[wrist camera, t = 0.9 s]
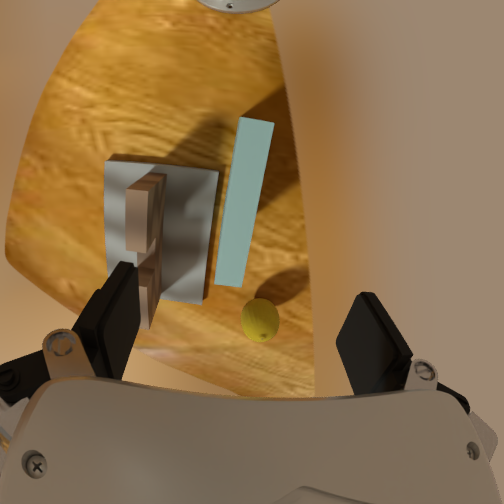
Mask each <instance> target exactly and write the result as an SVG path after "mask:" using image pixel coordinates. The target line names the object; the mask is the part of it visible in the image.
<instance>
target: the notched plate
mask: <svg viewBox="0 0 504 504" xmlns="http://www.w3.org/2000/svg"><path fill="white" fill-rule="evenodd" d="M273 128H274V123H272V122H267V121H262V120H256V119H250V118H244V117H239V122H238V128H237V133H236V139H235V144H234V150H233V156H232V163H231V169H230V175H229V181H228V187H227V191H226V198H225V204H224V210H223V217H222V224H221V231H220V239H219V248H218V256H217V265H216V274H215V283H214V284H219V285H226V286H234V287H242V282H243V277H244V272H245V267H246V262H247V257H248V252H249V247H250V242H251V237H252V232H253V227H254V222H255V217H256V212H257V207H258V202H259V197H260V192H261V187H262V182H263V177H264V172H265V167H266V162H267V158H268V153H269V148H270V143H271V138H272V133H273Z"/></svg>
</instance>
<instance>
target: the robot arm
mask: <svg viewBox="0 0 504 504" xmlns="http://www.w3.org/2000/svg"><path fill="white" fill-rule="evenodd" d="M197 1H198V2H200V3H201V4H203V5H204V6H206V7H208V8H210V9H212V10H216V11H219V12H224V13H231V14H243V13H252V12H256V11H260V10H263V9H265V8H268V7H270V6H272V5H273V4H275V3H277V2H278V1H279V0H197ZM229 7H232V8H231V9H229ZM140 323H141V312H140V297H139V275H138V267H134V263H131V262H125V261H120V262H119V263H118V264H117V266H116V267H115V269H114V270H113V272H112V273H111V275H110V276H109V278H108V279H107V281H106V282H105V284H104V285H103V287H102V288H101V289H97V290H96V291H95V292H94V294H93V295H92V297H91V298H90V300H89V301H88V303H87V305H86V306H85V308H84V309H83V311H82V313H81V314H80V316H79V318H78V319H77V321H76V323H75V324H74V326H73V328H72V329H71V330H69V329H57V330H54V331H52V332H50V333H49V334H48V335H47V336H46V337H45V338H44V340H43V343H42V348H43V349H42V350H40V351H37V352H34V353H31V354H29V355H26V356H23V357H20V358H17V359H15V360H12V361H9V362H6V363H4V364H2V365H0V504H502V501H501V498H500V494H499V490H498V487H497V484H496V481H495V478H494V474H493V471H492V469H491V466H490V463H489V462H490V460H491V458H492V456H493V453H494V451H495V449H496V446H497V443H498V438H497V435H496V433H495V432H494V431H493V430H492V429H491V428H490V427H489V426H488V425H487V424H486V423H485V422H484V421H483V420H482V419H480V418H479V417H478V416H477V415H476V414H475V413H474V412H473V411H472V412H471V413H469V412H470V406H469V403H468V401H467V399H466V398H465V397H464V396H462V395H460V394H458V393H457V392H455V391H453V390H451V389H450V388H448V387H446V386H444V385H443V384H441V383H439V382H437V380H438V373H437V370H436V369H435V367H434V366H433V365H432V364H431V363H429V362H428V361H426V360H423V359H415V360H414V361H411V357H412V356H413V353H412V351H411V350H410V348H409V346H408V345H407V343H406V341H405V340H404V338H403V337H402V335H401V333H400V332H399V330H398V329H397V327H396V325H395V324H394V322H393V321H392V319H391V318H390V316H389V315H388V313H387V311H386V310H385V308H384V307H383V305H382V304H381V302H380V301H379V299H378V298H377V296H376V295H375V294H374V293H372V292H361V293H360V294H359V295H357V296H356V298H355V300H354V302H353V305H352V307H351V309H350V311H349V313H348V315H347V318H346V320H345V322H344V324H343V326H342V328H341V330H340V332H339V335H338V336H337V339H336V346H337V349H338V352H339V354H340V357H341V359H342V362H343V365H344V367H345V370H346V373H347V376H348V378H349V381H350V384H351V387H352V389H353V392H354V395H350V396H335V397H311V398H269V397H246V396H230V395H218V394H207V393H199V392H190V391H182V390H176V389H168V388H162V387H155V386H149V385H144V384H139V383H133V382H128V381H122V380H121V379H122V376H123V373H124V370H125V367H126V364H127V361H128V358H129V355H130V352H131V349H132V347H133V344H134V341H135V338H136V335H137V333H138V330H139V327H140Z"/></svg>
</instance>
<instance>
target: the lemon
mask: <svg viewBox="0 0 504 504" xmlns="http://www.w3.org/2000/svg"><path fill="white" fill-rule="evenodd" d="M241 325H242V328H243V331H244V333H245V334H246V335H247V337H248V338H250V339H251V340H253V341H256V342H265V341H268V340H270V339H272V338H273V337H274V336H275V334H276V333H277V331H278V328H279V314H278V311H277V309H276V307H275V306H274V304H273V303H272V302H270V301H269V300H266V299H263V298H256V299H253V300H251V301H249V302H248V303H247V304H246V305H245V306H244V308H243V310H242V313H241Z"/></svg>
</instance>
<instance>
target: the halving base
mask: <svg viewBox="0 0 504 504" xmlns="http://www.w3.org/2000/svg"><path fill="white" fill-rule="evenodd" d="M218 176H219V171H218V170H210V169H203V168H195V167H186V166H177V165H168V164H158V163H147V162H134V161H120V160H106V161H105V171H104V224H105V244H106V258H107V269H108V278H109V276H110V275H111V273H112V272H113V270H114V269H115V267H116V266H117V264H118V263H119V262H120V261H125V262H131V263H134V267H138V275H139V297H140V312H141V323H140V327H139V328H141V329H147V330H149V329H150V326H151V323H152V320H153V317H154V314H155V311H156V308H157V305H158V302H159V299H165V300H171V301H178V302H185V303H192V304H199V305H202V300H203V291H204V281H205V272H206V264H207V255H208V247H209V239H210V232H211V224H212V217H213V209H214V202H215V196H216V189H217V182H218Z"/></svg>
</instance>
